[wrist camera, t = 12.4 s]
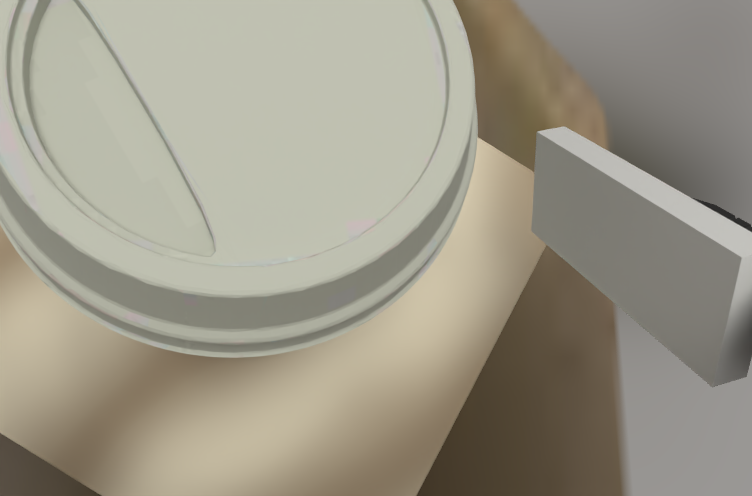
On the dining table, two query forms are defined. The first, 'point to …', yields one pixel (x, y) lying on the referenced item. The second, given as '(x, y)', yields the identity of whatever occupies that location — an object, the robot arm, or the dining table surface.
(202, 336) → the coffee cup
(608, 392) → the dining table surface
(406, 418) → the shelf
